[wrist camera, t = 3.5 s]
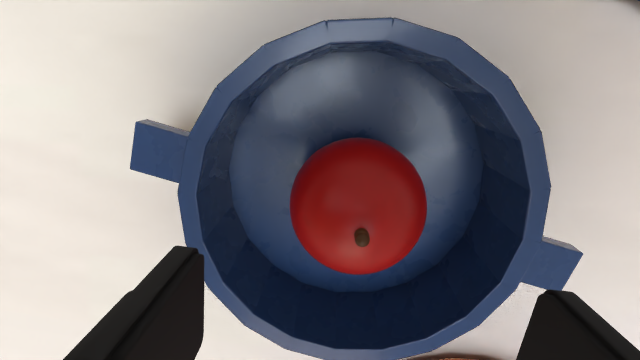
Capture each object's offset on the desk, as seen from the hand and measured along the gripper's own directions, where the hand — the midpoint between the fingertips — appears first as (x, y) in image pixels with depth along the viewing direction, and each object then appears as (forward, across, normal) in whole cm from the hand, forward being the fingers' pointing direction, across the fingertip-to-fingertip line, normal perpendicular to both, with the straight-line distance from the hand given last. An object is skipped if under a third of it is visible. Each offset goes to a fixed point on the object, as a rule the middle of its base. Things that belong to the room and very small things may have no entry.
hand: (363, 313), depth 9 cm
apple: (+8, 0, 0) cm, 8 cm away
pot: (+12, 0, 0) cm, 12 cm away
